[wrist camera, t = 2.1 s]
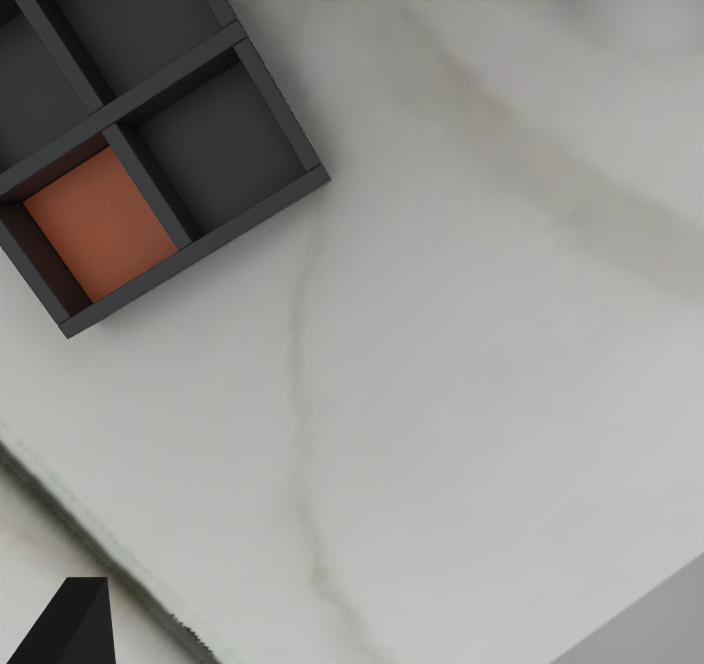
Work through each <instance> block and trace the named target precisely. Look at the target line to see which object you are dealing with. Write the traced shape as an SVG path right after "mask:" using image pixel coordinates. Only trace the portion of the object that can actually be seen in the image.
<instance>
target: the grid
mask: <svg viewBox="0 0 704 664" xmlns="http://www.w3.org/2000/svg"><path fill="white" fill-rule="evenodd" d="M329 181H331V178H330V177H329V175H328V173H327V171H326V170H325V168H324V166H323V164H322V163H321V161H320V159H319V158H318V156H317V154H316V152H315V151H314V149H313V147H312V145H311V144H310V142H309V140H308V139H307V137H306V135H305V133H304V132H303V130H302V128H301V126H300V125H299V123H298V121H297V120H296V118H295V116H294V114H293V113H292V111H291V109H290V107H289V106H288V104H287V102H286V101H285V99H284V97H283V95H282V94H281V92H280V90H279V89H278V87H277V85H276V83H275V82H274V80H273V78H272V76H271V75H270V73H269V71H268V70H267V68H266V66H265V64H264V63H263V61H262V59H261V57H260V56H259V54H258V52H257V51H256V49H255V47H254V45H253V44H252V42H251V40H250V38H249V37H248V35H247V33H246V32H245V30H244V28H243V26H242V25H241V23H240V21H239V19H238V18H237V16H236V14H235V13H234V11H233V9H232V7H231V6H230V4H229V2H228V1H227V0H0V246H1V248H2V249H3V250H4V252H5V253H6V254H7V256H8V257H9V259H10V260H11V261H12V263H13V264H14V266H15V267H16V268H17V270H18V271H19V272H20V274H21V275H22V277H23V278H24V279H25V281H26V282H27V284H28V285H29V286H30V288H31V289H32V290H33V292H34V293H35V295H36V296H37V297H38V299H39V300H40V302H41V303H42V304H43V306H44V307H45V308H46V310H47V311H48V313H49V314H50V315H51V317H52V318H53V320H54V321H55V322H56V324H57V325H58V327H59V328H60V330H61V331H62V332H63V334H64V335H65V336H66V338H67V339H69V338H71V337H73V336H75V335H76V334H78V333H80V332H82V331H84V330H85V329H87V328H89V327H91V326H93V325H94V324H96V323H98V322H99V321H101V320H103V319H104V318H106V317H108V316H109V315H111V314H113V313H114V312H116V311H118V310H119V309H121V308H122V307H124V306H126V305H127V304H129V303H131V302H132V301H134V300H136V299H137V298H139V297H141V296H142V295H144V294H145V293H147V292H149V291H150V290H152V289H154V288H155V287H157V286H159V285H160V284H162V283H163V282H165V281H167V280H168V279H170V278H172V277H173V276H175V275H177V274H178V273H180V272H182V271H183V270H185V269H186V268H188V267H190V266H191V265H193V264H195V263H196V262H198V261H200V260H201V259H203V258H205V257H206V256H208V255H209V254H211V253H213V252H214V251H216V250H218V249H219V248H221V247H223V246H224V245H226V244H228V243H229V242H231V241H232V240H234V239H236V238H237V237H239V236H241V235H242V234H244V233H246V232H247V231H249V230H250V229H252V228H254V227H255V226H257V225H259V224H260V223H262V222H264V221H265V220H267V219H269V218H270V217H272V216H273V215H275V214H277V213H278V212H280V211H282V210H283V209H285V208H287V207H288V206H290V205H292V204H293V203H295V202H296V201H298V200H300V199H301V198H303V197H305V196H306V195H308V194H310V193H311V192H313V191H315V190H316V189H318V188H319V187H321V186H323V185H324V184H326V183H328V182H329Z"/></svg>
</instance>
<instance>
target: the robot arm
mask: <svg viewBox="0 0 704 664" xmlns="http://www.w3.org/2000/svg"><path fill="white" fill-rule="evenodd" d="M7 664H116V660H115V650H114V640H113V630H112V620H111V610H110V601H109V591H108V581H107V577H67V578H66V580H65V581H64V582H63V584H62V585H61V587H60V588H59V590H58V591H57V592H56V594H55V595H54V597H53V598H52V600H51V601H50V602H49V604H48V605H47V607H46V608H45V610H44V611H43V612H42V614H41V615H40V617H39V618H38V620H37V621H36V622H35V624H34V625H33V627H32V628H31V630H30V631H29V632H28V634H27V635H26V637H25V638H24V640H23V641H22V642H21V644H20V645H19V647H18V648H17V650H16V651H15V652H14V654H13V655H12V657H11V658H10V659H9V661H8V662H7Z"/></svg>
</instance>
